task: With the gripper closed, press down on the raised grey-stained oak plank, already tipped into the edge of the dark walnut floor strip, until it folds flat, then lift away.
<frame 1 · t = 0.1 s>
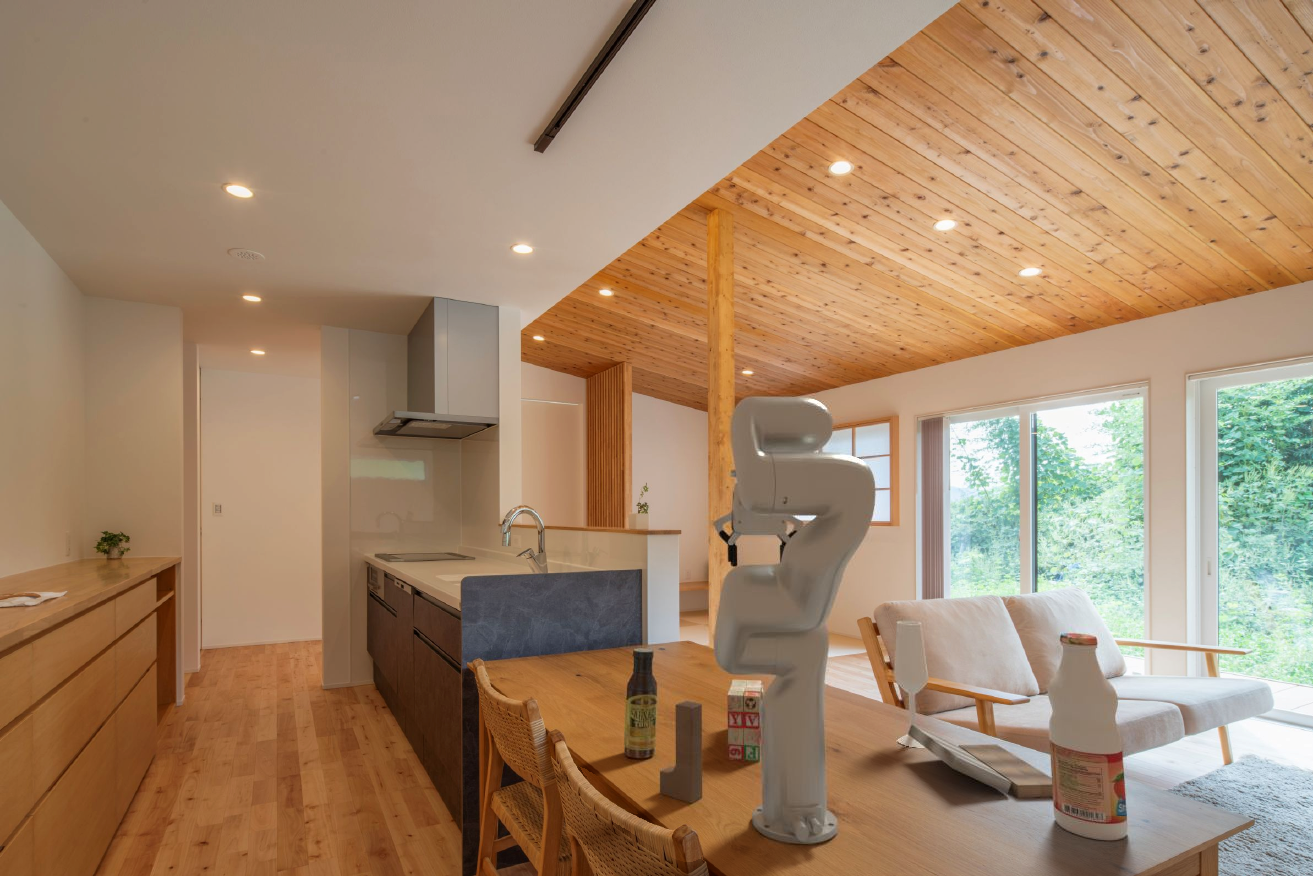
hand: (759, 566, 131), 37 cm above the table, tool pointing down, fingers open, 9 cm apart
champagne flute: (913, 743, 141), on the table
sauce bottle: (640, 756, 134), on the table
walnut floor strip: (1007, 774, 124), on the table
grey plank: (955, 756, 124), point 3 cm above the table, hinge at 25.0°
wooden block: (681, 797, 115), on the table
stack of blocks: (747, 744, 141), on the table
fruit juice: (1090, 829, 103), on the table
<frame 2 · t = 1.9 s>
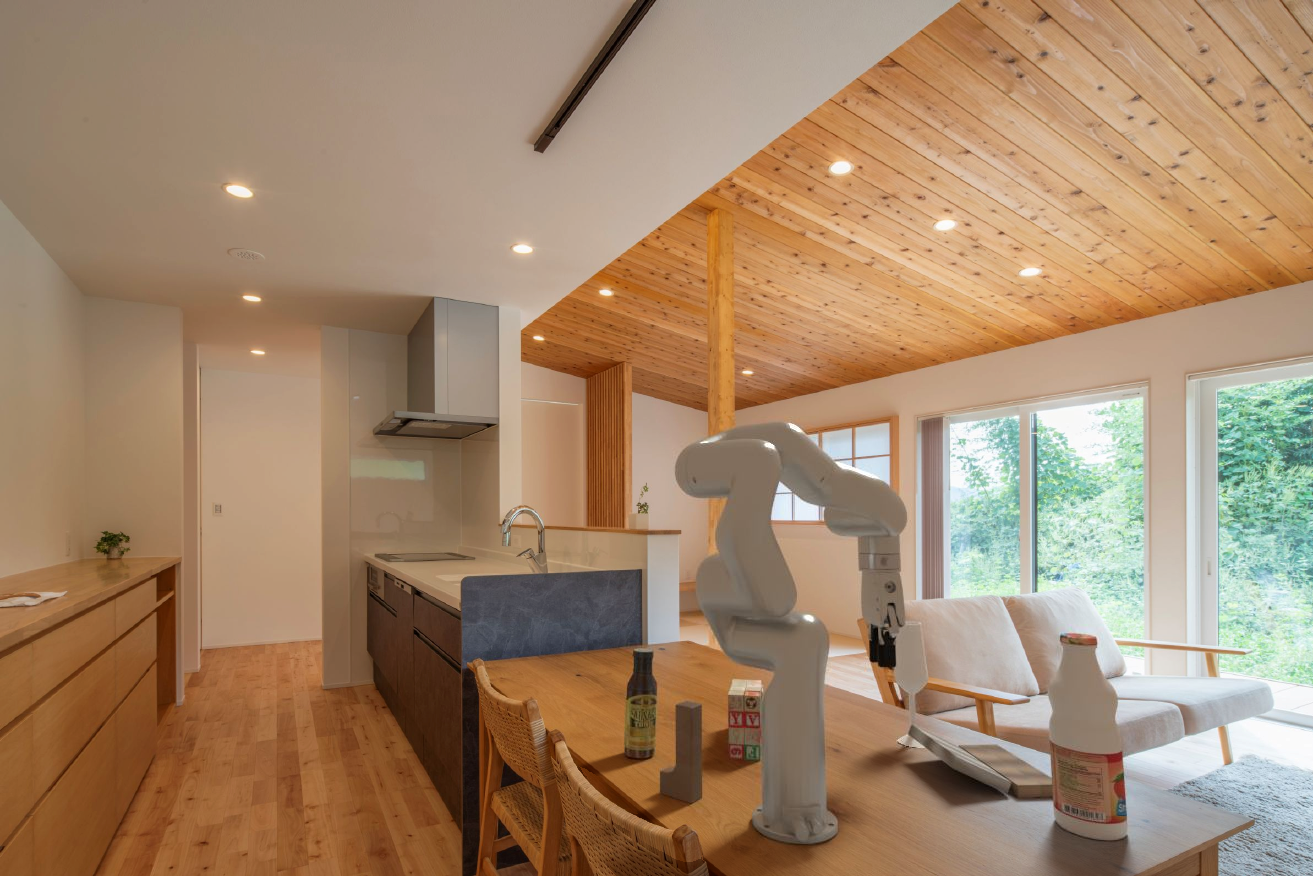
hand: (882, 663, 127), 19 cm above the table, tool pointing down, fingers open, 3 cm apart
nothing on the table moved.
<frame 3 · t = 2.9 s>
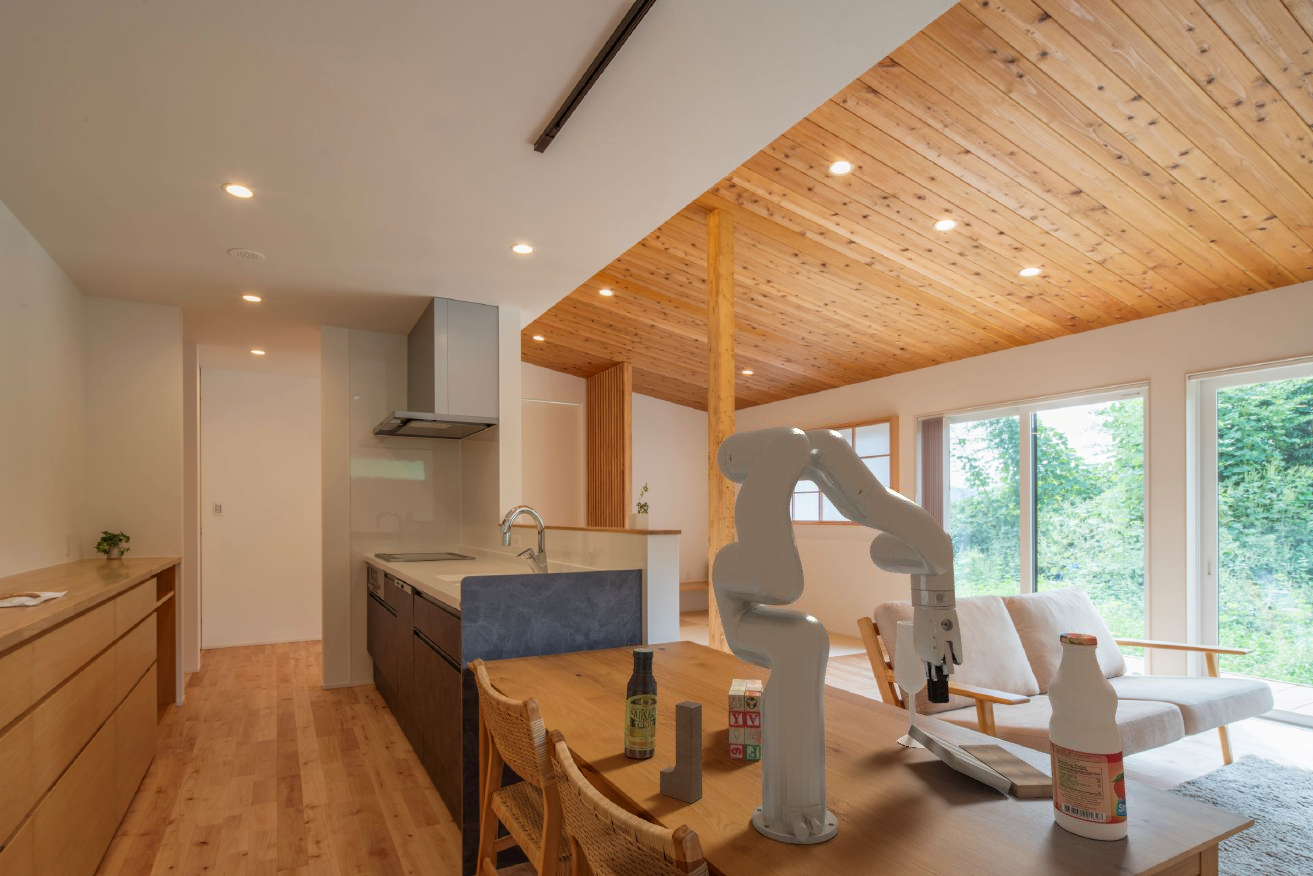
hand: (938, 701, 125), 13 cm above the table, tool pointing down, fingers closed
nothing on the table moved.
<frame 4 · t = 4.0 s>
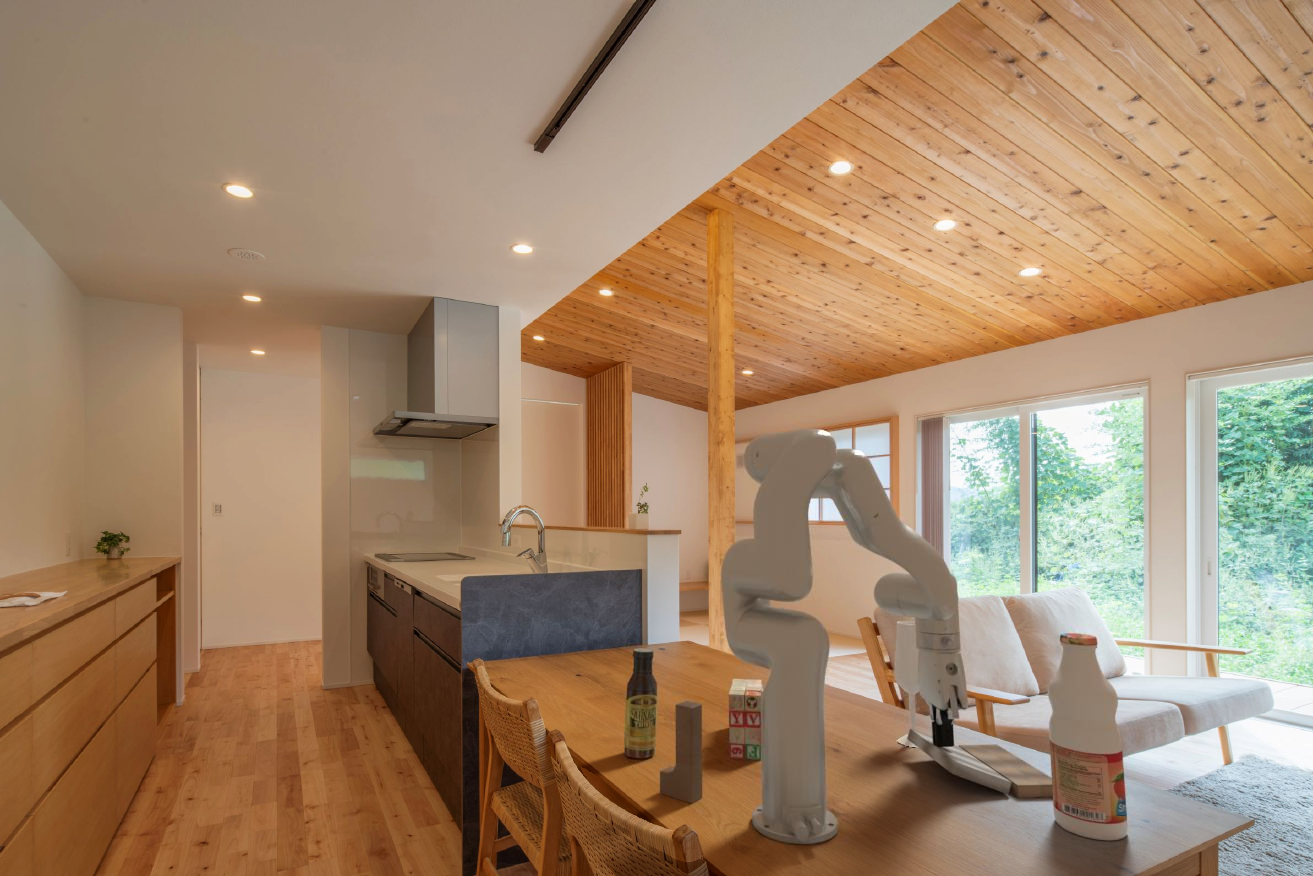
hand: (943, 745, 124), 5 cm above the table, tool pointing down, fingers closed
grey plank: (955, 759, 124), point 3 cm above the table, hinge at 20.1°, touching gripper
everything else where it was.
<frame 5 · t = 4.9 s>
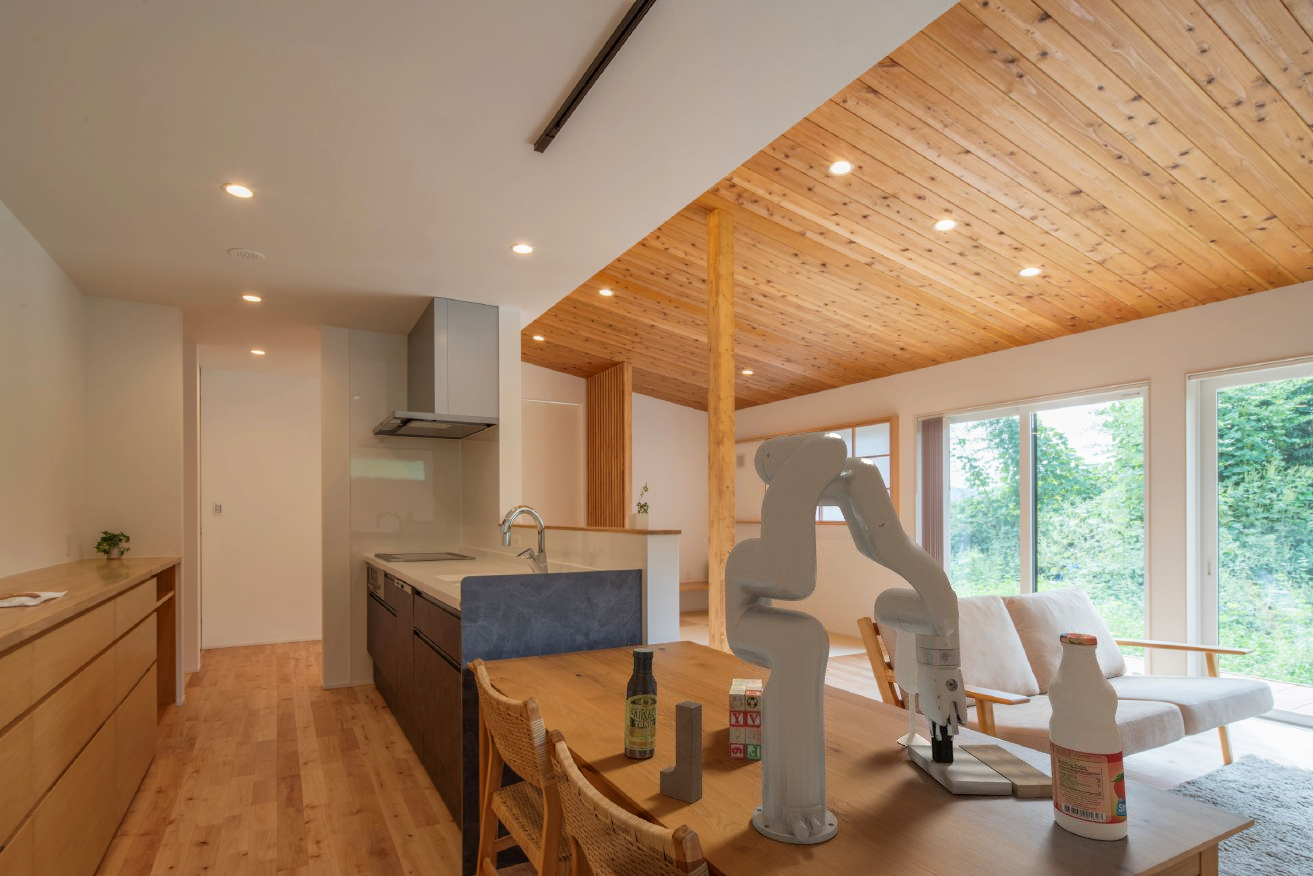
hand: (942, 761, 124), 2 cm above the table, tool pointing down, fingers closed
grey plank: (956, 768, 124), point 1 cm above the table, hinge at 2.6°, touching gripper
everything else where it was.
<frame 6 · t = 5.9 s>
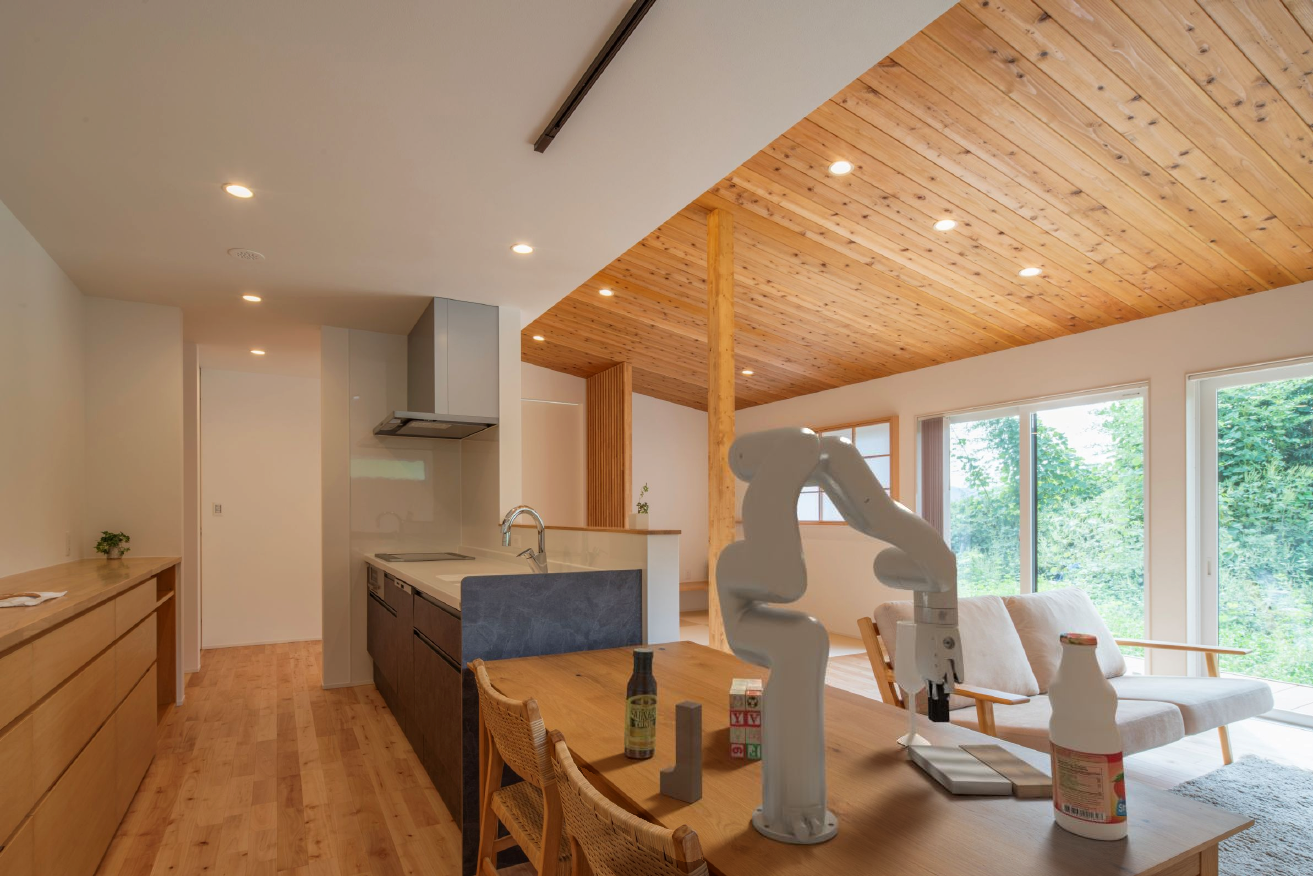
hand: (938, 720, 124), 10 cm above the table, tool pointing down, fingers closed
grey plank: (956, 768, 124), point 1 cm above the table, hinge at 2.6°
everything else where it was.
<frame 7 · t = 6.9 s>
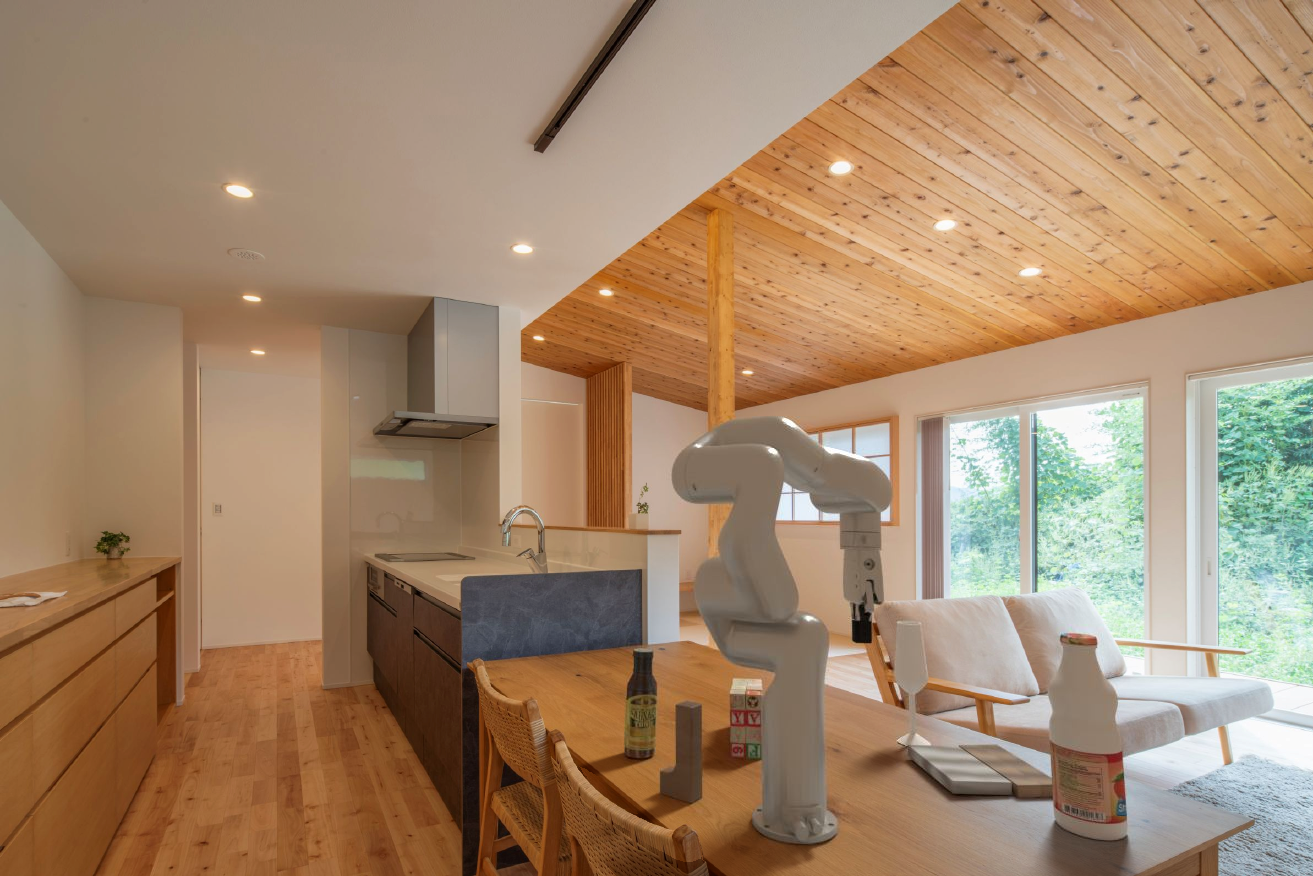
hand: (862, 642, 128), 23 cm above the table, tool pointing down, fingers closed
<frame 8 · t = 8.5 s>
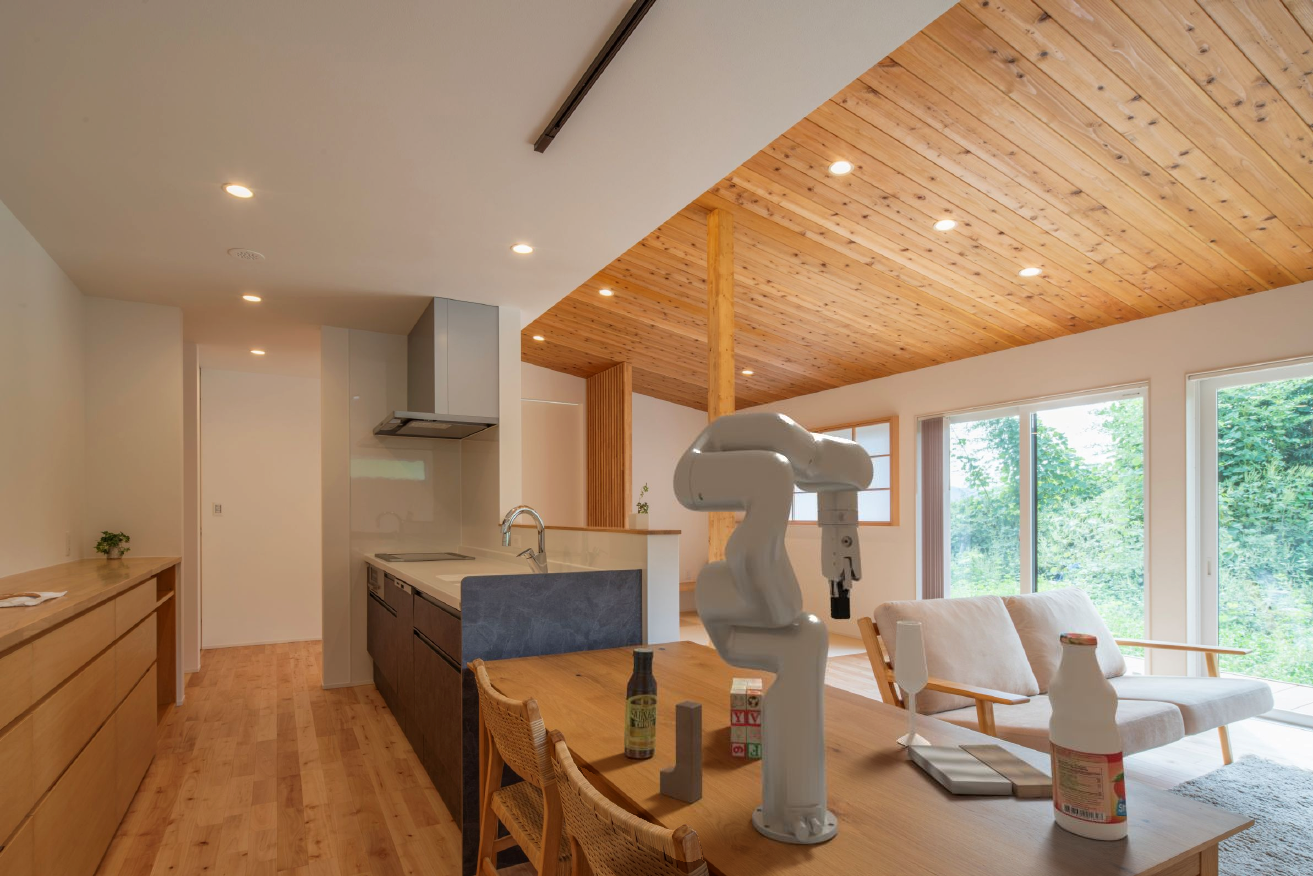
hand: (840, 618, 129), 27 cm above the table, tool pointing down, fingers closed
at the end: grey plank at +3° (first picture: +25°); champagne flute moved 0.2 cm from its start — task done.
